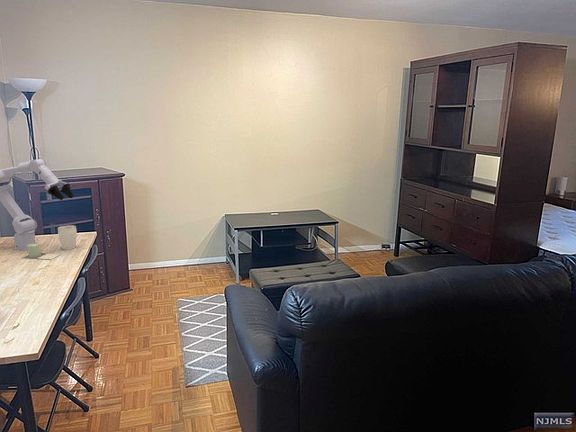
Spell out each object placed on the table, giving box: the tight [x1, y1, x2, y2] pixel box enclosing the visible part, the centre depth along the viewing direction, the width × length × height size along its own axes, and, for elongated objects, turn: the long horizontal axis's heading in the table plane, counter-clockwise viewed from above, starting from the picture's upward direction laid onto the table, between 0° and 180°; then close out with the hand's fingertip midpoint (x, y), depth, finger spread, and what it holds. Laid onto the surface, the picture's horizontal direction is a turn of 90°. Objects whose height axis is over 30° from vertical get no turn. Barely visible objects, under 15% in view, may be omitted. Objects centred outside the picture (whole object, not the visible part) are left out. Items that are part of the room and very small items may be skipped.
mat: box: [22, 252, 63, 261], centre depth 216 cm, size 16×9×1 cm, turn 83°
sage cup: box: [27, 242, 42, 258], centre depth 216 cm, size 5×5×6 cm
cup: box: [57, 224, 78, 250], centre depth 230 cm, size 9×9×12 cm
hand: (67, 198), depth 218 cm, fingers open, 7 cm apart
